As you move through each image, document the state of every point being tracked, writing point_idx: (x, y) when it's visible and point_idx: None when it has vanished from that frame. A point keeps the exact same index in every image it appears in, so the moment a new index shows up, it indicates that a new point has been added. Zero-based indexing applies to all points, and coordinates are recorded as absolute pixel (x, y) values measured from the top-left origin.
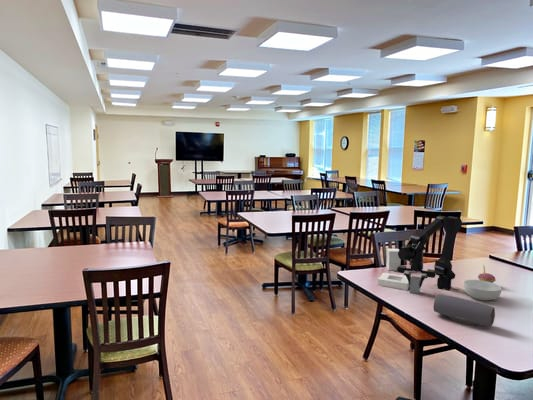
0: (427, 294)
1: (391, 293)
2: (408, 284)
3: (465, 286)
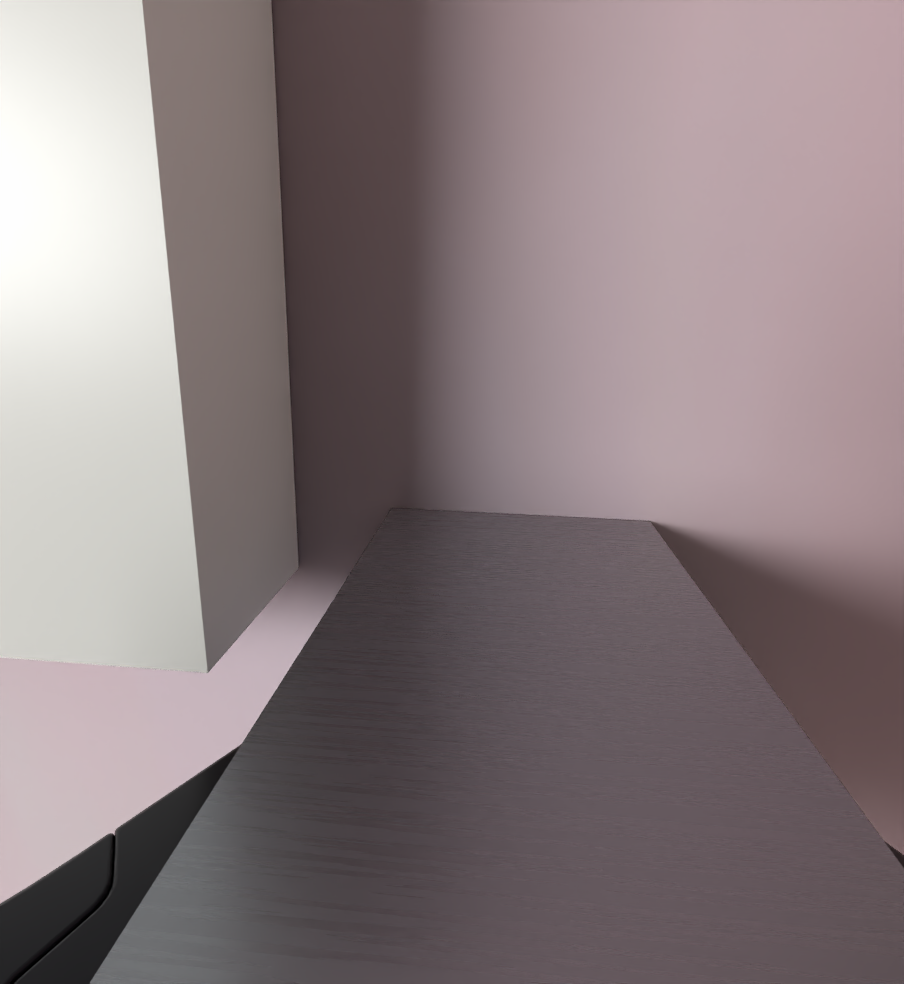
0: (862, 663)
1: None
2: (229, 461)
3: None
